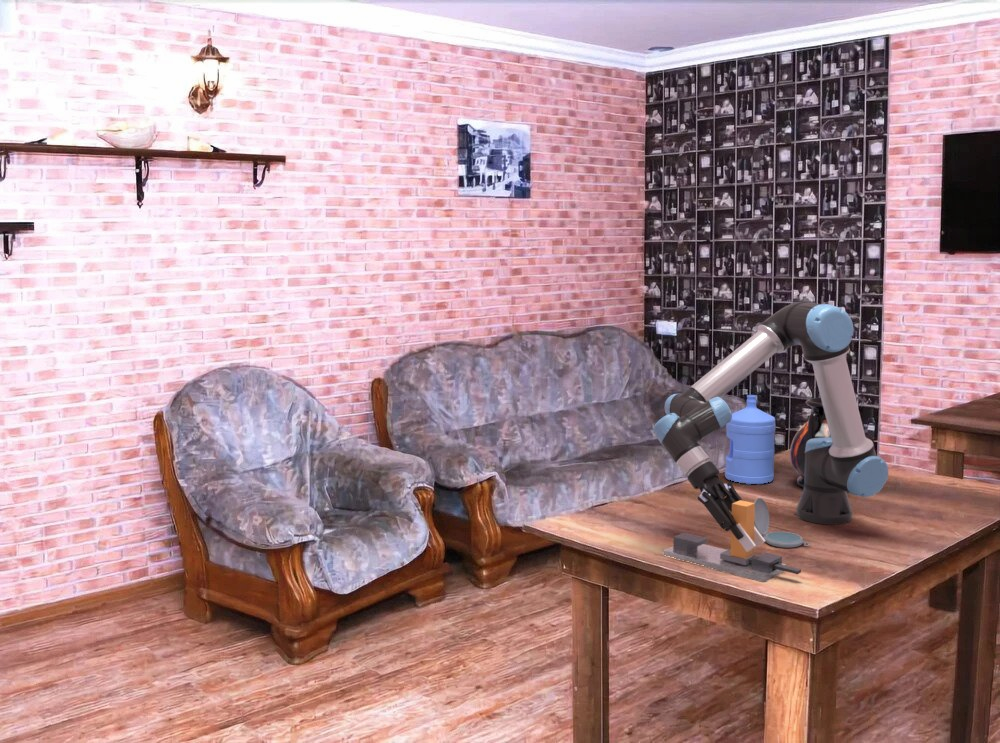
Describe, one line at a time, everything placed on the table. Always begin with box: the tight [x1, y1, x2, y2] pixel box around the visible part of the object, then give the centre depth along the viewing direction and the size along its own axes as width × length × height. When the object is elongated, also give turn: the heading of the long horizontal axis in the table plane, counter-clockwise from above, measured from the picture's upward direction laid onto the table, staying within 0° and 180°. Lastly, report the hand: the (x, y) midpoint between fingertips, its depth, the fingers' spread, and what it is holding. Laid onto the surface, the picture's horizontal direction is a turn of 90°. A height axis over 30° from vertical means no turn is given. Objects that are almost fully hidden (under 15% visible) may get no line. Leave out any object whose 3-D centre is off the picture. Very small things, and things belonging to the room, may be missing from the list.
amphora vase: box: [789, 397, 831, 489], centre depth 315 cm, size 22×22×28 cm
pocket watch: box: [753, 497, 812, 549], centre depth 261 cm, size 10×11×15 cm
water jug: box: [724, 394, 777, 485], centre depth 325 cm, size 16×16×28 cm
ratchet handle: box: [720, 499, 802, 575], centre depth 237 cm, size 20×5×14 cm, turn 47°
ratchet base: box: [662, 532, 787, 583], centre depth 245 cm, size 28×11×4 cm, turn 47°
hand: (756, 546), depth 239 cm, fingers closed on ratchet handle, 4 cm apart
